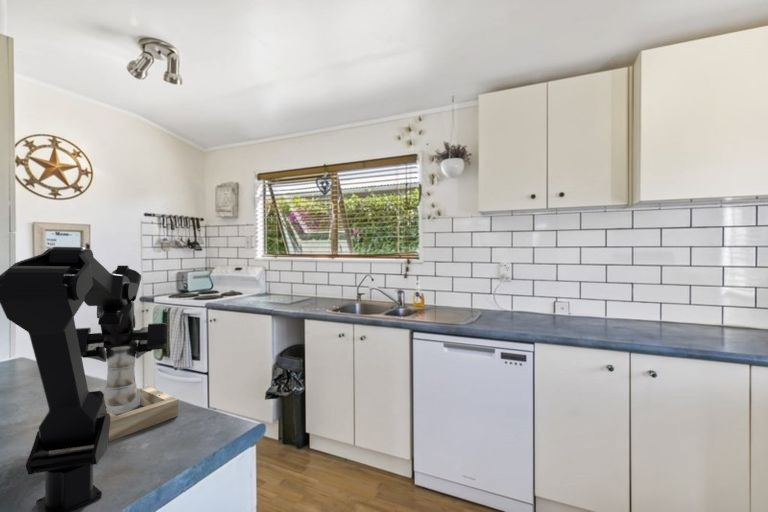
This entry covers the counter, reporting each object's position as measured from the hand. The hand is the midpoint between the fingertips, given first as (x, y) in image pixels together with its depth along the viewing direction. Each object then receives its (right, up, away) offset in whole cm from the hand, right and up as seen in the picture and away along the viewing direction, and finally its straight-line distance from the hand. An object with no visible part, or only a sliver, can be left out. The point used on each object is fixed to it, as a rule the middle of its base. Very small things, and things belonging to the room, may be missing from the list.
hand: (121, 358), depth 87 cm
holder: (+5, -13, -3) cm, 14 cm away
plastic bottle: (0, -11, -1) cm, 11 cm away
